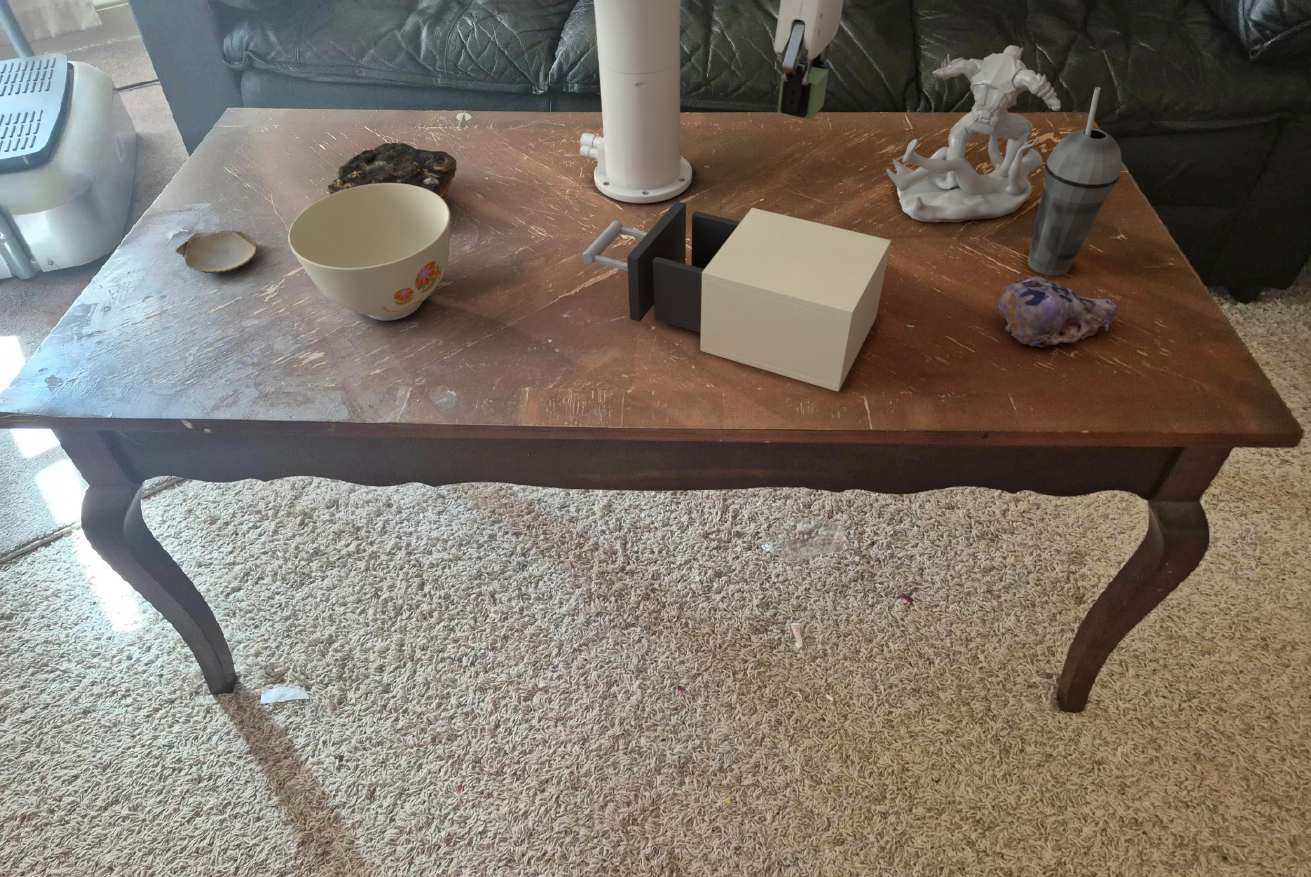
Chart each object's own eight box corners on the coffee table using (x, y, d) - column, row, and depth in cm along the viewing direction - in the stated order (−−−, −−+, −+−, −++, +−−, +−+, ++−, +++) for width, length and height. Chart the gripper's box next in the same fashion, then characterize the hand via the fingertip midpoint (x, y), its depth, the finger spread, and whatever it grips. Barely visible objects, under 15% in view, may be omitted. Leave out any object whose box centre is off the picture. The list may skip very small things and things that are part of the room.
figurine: (1014, 169, 113) (1058, 25, 100) (1050, 223, 104) (1103, 72, 91) (877, 175, 113) (903, 31, 100) (901, 229, 104) (933, 79, 91)
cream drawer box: (700, 351, 89) (701, 272, 82) (746, 284, 97) (751, 207, 90) (838, 392, 84) (852, 312, 78) (875, 318, 92) (891, 240, 85)
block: (777, 112, 106) (781, 76, 103) (789, 98, 109) (794, 62, 106) (811, 120, 105) (816, 83, 102) (823, 105, 108) (828, 69, 104)
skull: (1102, 303, 92) (1122, 259, 88) (1119, 358, 88) (1142, 315, 83) (984, 304, 94) (997, 260, 89) (995, 358, 89) (1010, 315, 84)
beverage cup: (1087, 286, 96) (1158, 108, 81) (1017, 279, 97) (1075, 102, 82) (1078, 249, 101) (1144, 75, 86) (1012, 242, 102) (1066, 70, 87)
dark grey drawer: (574, 303, 94) (567, 240, 88) (623, 248, 101) (620, 187, 95) (750, 354, 87) (755, 290, 82) (789, 292, 94) (796, 229, 89)
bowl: (336, 368, 88) (306, 287, 81) (303, 286, 98) (273, 206, 91) (487, 321, 93) (471, 240, 86) (440, 247, 103) (423, 169, 96)
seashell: (232, 298, 100) (274, 248, 103) (222, 281, 97) (265, 231, 101) (172, 272, 101) (216, 224, 105) (160, 255, 98) (205, 206, 102)
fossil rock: (375, 172, 116) (363, 130, 111) (472, 183, 113) (464, 141, 109) (323, 229, 106) (309, 186, 102) (428, 243, 104) (418, 199, 100)
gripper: (815, -87, 100) (795, 73, 113) (761, -44, 89) (745, 128, 102) (879, -77, 98) (851, 85, 111) (831, -32, 87) (806, 142, 100)
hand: (800, 104), depth 106 cm, fingers closed on block, 4 cm apart
